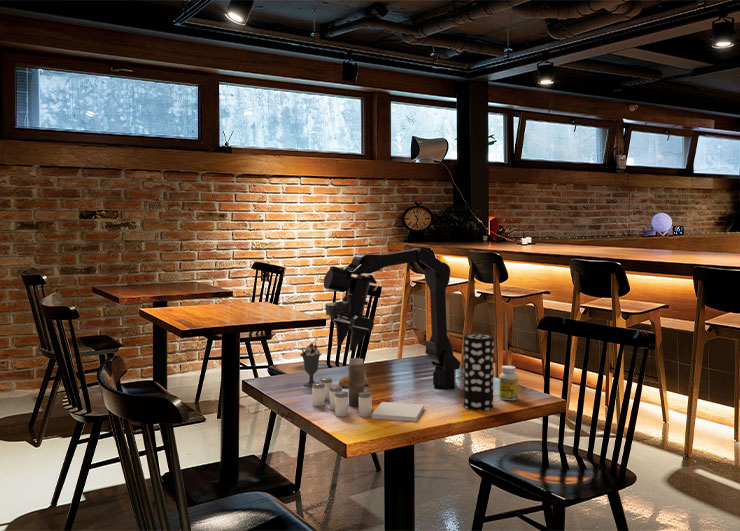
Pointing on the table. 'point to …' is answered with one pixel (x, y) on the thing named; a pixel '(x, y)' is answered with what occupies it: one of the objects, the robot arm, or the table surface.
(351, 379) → the pepper mill
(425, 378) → the table surface
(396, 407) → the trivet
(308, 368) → the sundae
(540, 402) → the table surface
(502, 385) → the supplement bottle
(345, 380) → the pastry
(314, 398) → the shakers
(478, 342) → the spotted tube
